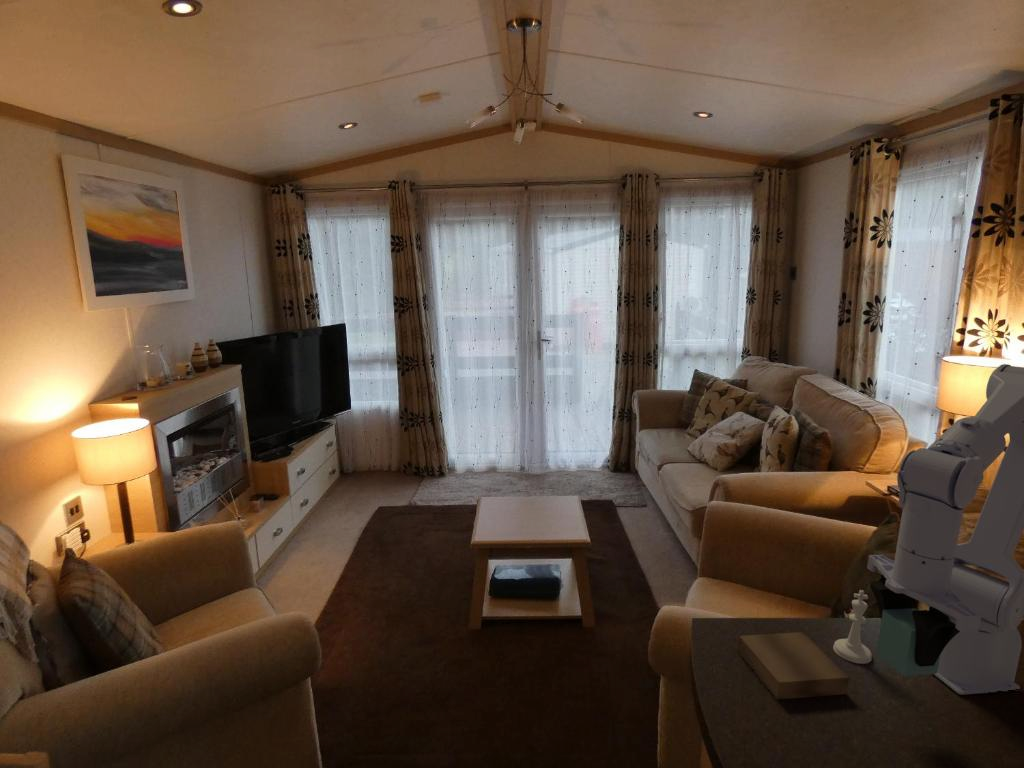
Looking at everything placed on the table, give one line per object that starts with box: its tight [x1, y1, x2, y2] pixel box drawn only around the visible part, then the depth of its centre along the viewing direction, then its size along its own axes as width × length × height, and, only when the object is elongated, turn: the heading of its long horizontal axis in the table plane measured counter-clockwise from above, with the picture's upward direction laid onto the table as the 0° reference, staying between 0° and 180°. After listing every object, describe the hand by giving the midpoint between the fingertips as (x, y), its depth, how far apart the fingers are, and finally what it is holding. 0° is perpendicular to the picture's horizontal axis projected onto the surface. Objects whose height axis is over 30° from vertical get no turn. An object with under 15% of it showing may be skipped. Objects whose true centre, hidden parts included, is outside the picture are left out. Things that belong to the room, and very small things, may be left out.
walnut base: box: [737, 631, 850, 700], centre depth 82 cm, size 10×10×2 cm
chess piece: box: [833, 589, 872, 665], centre depth 86 cm, size 5×5×10 cm
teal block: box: [875, 607, 940, 677], centre depth 73 cm, size 4×4×6 cm
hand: (907, 650), depth 73 cm, fingers closed on teal block, 4 cm apart
